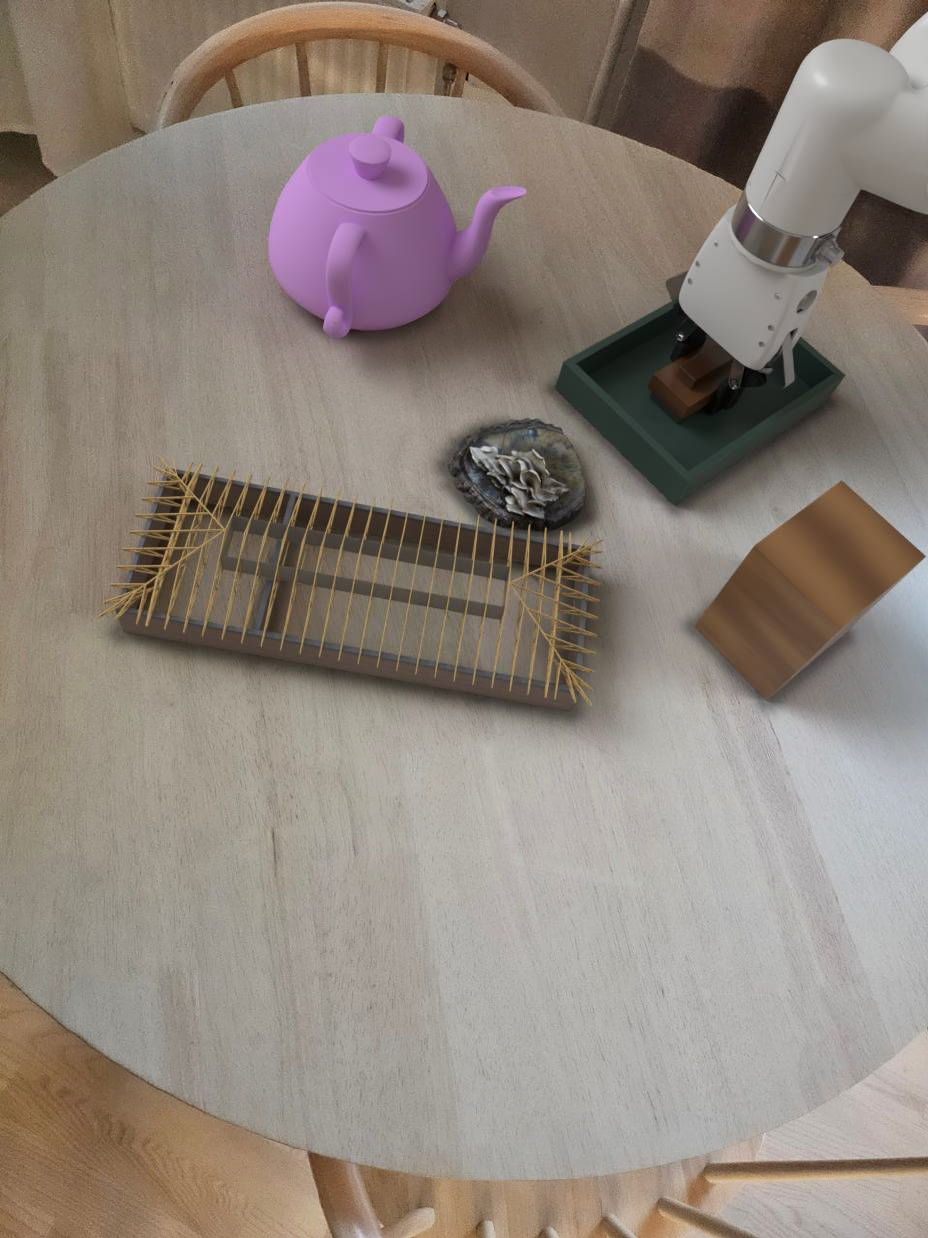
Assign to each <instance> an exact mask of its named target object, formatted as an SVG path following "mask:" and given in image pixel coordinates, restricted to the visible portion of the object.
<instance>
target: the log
mask: <svg viewBox="0 0 928 1238" xmlns="http://www.w3.org/2000/svg"><path fill="white" fill-rule="evenodd" d="M451 459H452V460H453V461H452V462H451V463H448V464H447V468H448V472H449V474H450V475H451V476H453V477H454V481H453V486H454V487H455V489H457V490H459V491H460V492H462V496H463V499H464V500H465V501H466V502H468V503H470V504H471V505H472V506H473V508H474V509H475V511H476V512H477V513H478V515H479V516H480V517H481V518H483V519H485V520H486V521H488V522H490V523H491V524H493V525H495V519H496V518H497V520H496V526H499V527H501V528H504V529H505V528H506V529H507V528H508V529H512V523H513V522H514V526H513V529H515V530H516V529H517V530H528V528H529V525H530V531H536V532H541V531H543V532H545V528H546V532H549V531H554V530H557V529H560V528H561V527H563V526H565V525H567V524H569V523H571V522H573V521H575V520H577V518H579V517H580V515H582V513H583V511H584V508H585V500H586V495H587V488H586V480H585V476H584V474H583V473H584V472H583V469H582V466H581V464H582V463H581V462H580V460H579V457H578V454H577V452H576V451H575V448H574V446H573V444H572V443H571V442H570V440H569V438H568V437H567V435H565V434H564V432H563V429H562V427H561V426H555V425H554V424H553V423H546V422H544V421H542V420H541V419H540V418H537V417H535V418H534V419H531V418H530V417H526V418H524V419H514V418H513V419H509V420H508V421H507V422H503V423H497V424H496V423H495V424H494V425H491V426H490V427H487V426H481V427H479V428H478V429H477V430H476V431H475V432H474V434H473V435H470V434H469V435H467V436H465V437H464V438H463V439H462V440H461V441H460V442H459V443H458V449H457V450H456V451H455V452H454V453H453V454H452V457H451Z"/></svg>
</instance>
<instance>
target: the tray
mask: <svg viewBox="0 0 928 1238" xmlns="http://www.w3.org/2000/svg"><path fill="white" fill-rule="evenodd" d="M673 306H674V302H672V300H670V301H669V302H667V303H665V304H663V305H661V306H660V307H659V308H657V309H655V310H653V311H651V312H649V313H648V314H646V315H644V316H643V317H641V318H639V319H637V320H635V321H633V322H631V323H629V324H628V325H626V326H624V327H622V328H621V329H619V330H617V331H615V332H613V333H611V334H610V335H608V336H607V337H604V338H603V339H600V340H599V341H598V342H595V343H594V344H592V345H590V346H588V347H587V348H584V349H583V350H581V351H580V352H578V353H576V354H574V355H572V356H571V357H568V358H566V359H565V360H563V362H562V365H561V368H560V371H559V374H558V377H557V381H556V384H555V386H554V389H555V390H556V391H557V392H558V394H559V395H560V396H562V397H563V398H564V399H565V400H566V401H567V402H568V403H569V404H570V405H571V406H572V407H573V408H574V409H575V410H576V411H577V412H578V413H579V414H580V415H581V416H582V417H583V418H584V419H585V420H586V421H587V422H588V423H589V424H590V425H591V426H592V427H593V428H594V429H596V430H597V432H599V434H601V436H602V437H604V439H605V440H607V442H608V443H610V444H611V445H612V446H613V447H614V448H615V449H616V451H618V452H619V453H620V454H621V455H622V456H623V457H624V458H625V459H626V460H627V461H628V462H629V463H630V464H631V465H632V466H633V467H634V468H635V469H636V470H637V471H638V472H639V473H640V474H642V476H643V477H644V478H646V479H647V481H649V483H650V484H651V485H653V487H654V488H655V489H657V490H658V491H659V492H660V493H661V494H662V495H663V496H664V497H665V498H666V499H667V500H668V501H669V502H670V503H671V504H672V505H673V506H676V505H678V504H679V503H681V502H682V501H684V500H686V499H687V498H688V497H690V496H691V495H693V494H694V493H696V492H698V490H701V488H703V487H705V486H706V485H707V484H709V483H710V482H712V481H714V479H717V478H718V477H719V476H720V475H722V474H723V473H725V472H726V471H727V470H729V469H731V468H732V467H733V466H735V465H736V464H738V463H739V462H741V461H742V460H744V459H745V458H746V457H748V456H749V455H751V454H752V453H754V452H755V451H757V450H758V449H760V448H761V447H762V446H764V445H766V444H767V443H768V442H770V441H772V440H773V439H774V438H776V437H777V436H779V435H780V434H782V433H783V432H785V431H786V430H787V429H789V428H791V427H792V426H793V425H795V424H796V423H797V422H799V421H800V420H802V419H804V418H805V417H806V416H808V415H809V414H811V413H813V412H814V411H815V410H816V409H818V408H819V407H821V406H822V405H824V404H825V403H827V402H828V401H829V400H830V398H831V397H832V396H833V394H834V393H835V391H836V390H837V388H838V387H839V385H840V384H841V383H842V381H843V380H844V378H845V377H846V373H844V372H843V371H842V370H841V369H839V368H838V367H837V366H836V365H835V364H834V363H832V362H831V361H830V360H829V359H827V357H825V356H824V355H823V354H822V353H821V352H819V351H818V350H817V349H815V347H814V346H812V345H811V343H809V342H808V341H806V339H804V338H803V337H802V335H801V336H800V338H799V339H798V341H797V343H796V344H795V346H794V347H793V349H792V352H793V364H794V375H795V380H794V382H793V383H791V384H790V385H788V386H787V387H785V388H784V389H778V388H771V387H767V386H761V387H746V388H745V389H744V391H743V393H742V395H741V396H740V398H739V400H738V401H737V403H736V404H735V405H734V406H733V407H732V408H730V409H729V410H725V409H724V408H723V409H721V410H720V411H718V412H716V413H715V414H713V415H712V416H711V415H709V414H708V413H707V410H706V408H707V407H705V408H703V409H702V410H700V411H699V412H697V413H696V414H694V415H692V416H691V417H689V418H688V419H686V420H684V421H683V422H681V423H680V424H677V423H676V422H675V421H674V420H673V419H672V418H671V417H670V416H669V415H667V414H666V413H665V412H664V411H663V410H662V409H661V408H660V407H659V406H658V405H657V404H656V403H655V402H654V401H653V400H652V399H651V398H650V395H651V392H652V391H651V390H650V389H649V388H648V385H649V383H650V381H651V379H652V376H653V374H654V373H656V372H657V371H659V370H661V369H662V368H664V367H666V366H668V365H669V364H670V363H671V361H672V360H671V359H670V356H671V354H672V352H673V350H674V348H675V345H676V343H677V341H678V340H677V338H676V336H675V331H676V330H677V328H678V326H677V322H676V318H675V314H674V310H673ZM712 339H713V338H712V337H710V336H709V335H708V334H707V335H706V340H705V342H704V344H705V343H707V342H708V341H710V340H712ZM765 366H770V367H772V360H770V361H769V362H767V363H766V364H765Z"/></svg>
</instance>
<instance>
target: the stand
mask: <svg viewBox="0 0 928 1238" xmlns="http://www.w3.org/2000/svg"><path fill="white" fill-rule="evenodd" d="M926 557H927V556H926V554H924V553H923V551H921V550H920V549H918V547H916V546H915V544H913V542H911V541H910V540H909V539H907V538H906V536H904V535H903V534H902V533H901V532H900V531H899V530H897V528H895V526H893V525H892V524H891V523H890V522H889V521H888V520H886V519H885V517H883V515H881V514H880V513H879V512H878V511H877V510H876V509H874V508H873V507H872V506H871V505H870V504H869V503H868V502H867V501H866V500H864V498H862V496H860V495H859V494H858V493H857V492H856V491H855V490H853V488H851V487H850V486H849V485H848V484H847V483H845V481H843V480H840V481H839V482H837V483H836V484H834V485H833V486H832V487H830V488H829V489H827V490H826V491H825V492H824V493H823V494H821V495H819V496H818V497H817V498H816V499H814V500H813V501H812V502H810V503H809V504H808V505H806V506H805V507H804V508H803V509H801V510H800V511H799V512H797V513H795V515H793V516H792V517H791V518H788V520H786V521H785V522H784V523H783V524H781V525H780V526H778V527H777V528H776V529H774V530H773V531H771V532H770V533H769V534H768V535H766V536H765V537H764V538H763V539H761V540H760V541H758V542H757V543H756V544H754V545H753V547H752V548H751V549H750V551H748V553H747V555H746V556H745V558H744V559H743V560H742V562H741V563H740V564H739V565H738V567H737V568H736V570H734V572H733V573H732V574H731V576H730V578H729V579H728V580H727V581H726V583H725V584H724V586H723V587H722V588H721V590H720V591H719V592H718V593H717V595H716V596H715V597H714V599H713V601H712V602H711V603H710V604H709V606H708V607H707V608H706V610H705V611H704V612H703V614H702V615H701V616H700V618H699V619H698V620H697V622H696V623H695V624H694V628H695V629H696V630H697V631H698V632H699V633H700V634H701V635H702V636H703V637H704V638H705V639H706V641H708V642H709V643H710V644H711V645H712V647H714V649H716V651H718V652H719V654H721V656H723V658H724V659H725V660H726V661H727V662H728V663H729V664H730V665H731V666H732V667H733V668H734V669H735V670H736V671H737V672H738V673H739V674H740V675H741V676H742V677H743V678H744V679H745V681H747V682H748V683H749V684H750V685H751V686H752V688H753V689H754V690H755V691H756V692H757V693H759V694H760V696H762V698H764V700H766V701H768V700H769V699H770V698H771V697H772V696H774V695H775V694H777V693H778V691H780V690H781V689H782V688H784V686H786V685H787V684H788V683H789V682H790V681H791V680H793V679H794V678H795V677H796V676H797V675H798V674H800V673H801V672H802V671H803V670H804V669H806V668H807V667H808V666H809V665H810V664H811V663H812V662H814V661H815V660H816V659H817V658H818V657H819V656H821V655H822V654H823V653H824V652H825V651H826V650H828V649H829V648H830V647H831V646H832V645H833V644H834V643H836V642H837V641H838V640H839V639H840V638H842V637H843V636H844V635H845V634H847V632H848V631H849V630H850V629H851V628H852V627H853V626H855V625H856V624H857V623H858V622H859V621H860V620H861V619H862V618H863V617H864V616H865V615H866V614H867V613H868V612H869V611H870V610H872V609H873V608H874V606H876V605H877V604H878V603H879V602H880V601H881V600H882V599H884V597H885V596H886V595H887V594H888V593H889V592H891V590H893V589H894V588H895V587H896V586H897V585H898V584H899V583H900V582H901V581H902V580H903V579H904V578H905V577H907V575H908V574H910V572H912V571H913V570H914V569H915V568H916V567H917V566H918V565H919V564H920V563H921V562H922V561H923V560H924V559H925V558H926Z"/></svg>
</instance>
